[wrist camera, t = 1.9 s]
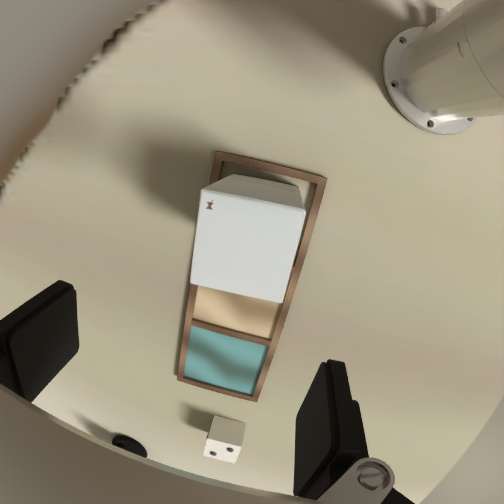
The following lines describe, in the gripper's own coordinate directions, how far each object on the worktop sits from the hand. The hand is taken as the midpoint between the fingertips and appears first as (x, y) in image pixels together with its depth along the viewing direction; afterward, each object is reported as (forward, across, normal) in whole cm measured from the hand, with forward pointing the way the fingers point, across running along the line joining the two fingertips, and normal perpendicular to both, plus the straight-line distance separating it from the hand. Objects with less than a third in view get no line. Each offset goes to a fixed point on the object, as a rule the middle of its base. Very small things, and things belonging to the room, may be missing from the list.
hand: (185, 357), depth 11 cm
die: (+25, -3, +34) cm, 42 cm away
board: (+25, 0, +10) cm, 27 cm away
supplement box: (+25, 0, 0) cm, 25 cm away
